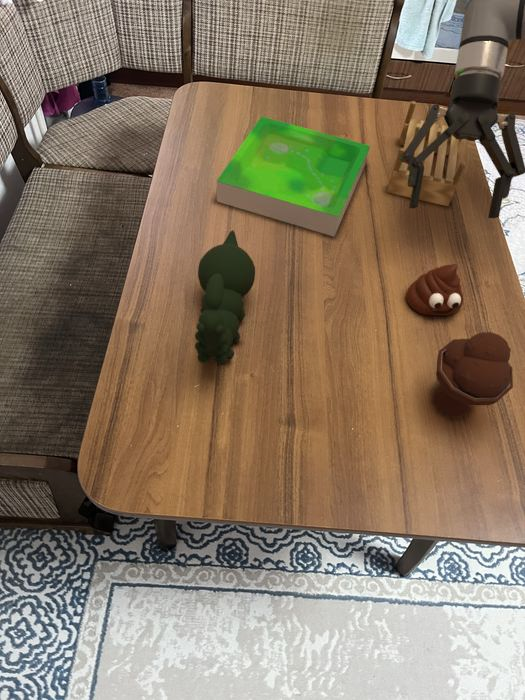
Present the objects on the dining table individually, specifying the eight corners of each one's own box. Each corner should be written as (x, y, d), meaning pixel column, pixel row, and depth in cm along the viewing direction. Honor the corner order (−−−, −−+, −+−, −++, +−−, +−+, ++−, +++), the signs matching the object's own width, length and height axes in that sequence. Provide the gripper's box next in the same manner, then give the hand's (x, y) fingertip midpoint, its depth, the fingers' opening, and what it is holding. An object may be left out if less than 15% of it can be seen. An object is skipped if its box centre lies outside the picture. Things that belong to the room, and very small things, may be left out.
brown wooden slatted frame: (455, 153, 123) (471, 112, 115) (448, 206, 112) (466, 165, 104) (398, 140, 125) (411, 99, 117) (386, 192, 113) (399, 151, 105)
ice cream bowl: (410, 374, 87) (441, 316, 74) (475, 372, 88) (516, 314, 75) (426, 433, 80) (462, 380, 68) (496, 430, 82) (545, 378, 69)
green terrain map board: (216, 201, 108) (216, 180, 104) (260, 136, 122) (261, 116, 118) (334, 236, 104) (338, 216, 100) (364, 165, 118) (370, 145, 114)
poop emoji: (453, 284, 99) (472, 247, 91) (466, 320, 94) (487, 284, 86) (400, 284, 98) (415, 247, 90) (411, 320, 93) (427, 284, 86)
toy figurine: (242, 386, 85) (257, 264, 98) (244, 321, 69) (263, 185, 81) (183, 379, 85) (207, 259, 98) (172, 313, 69) (202, 178, 81)
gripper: (542, 95, 90) (516, 223, 94) (396, 77, 90) (376, 205, 94) (566, 81, 83) (537, 220, 86) (406, 61, 83) (384, 200, 87)
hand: (453, 212), depth 90 cm, fingers open, 13 cm apart
